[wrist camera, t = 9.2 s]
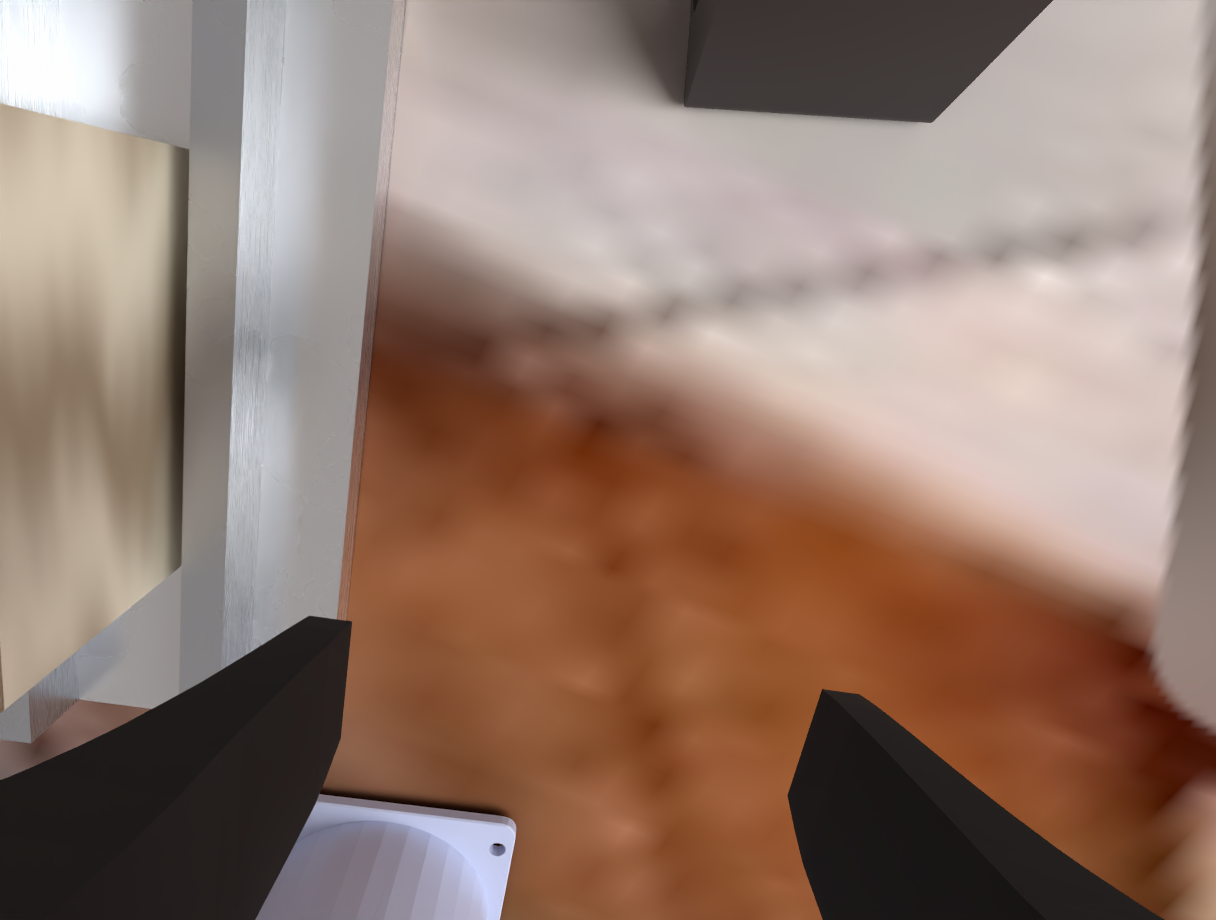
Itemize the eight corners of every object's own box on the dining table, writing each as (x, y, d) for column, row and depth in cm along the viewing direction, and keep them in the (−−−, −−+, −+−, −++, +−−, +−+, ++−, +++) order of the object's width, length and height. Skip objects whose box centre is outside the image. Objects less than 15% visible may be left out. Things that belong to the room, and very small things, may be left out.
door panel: (193, 555, 18) (-24, 732, 12) (97, 541, 18) (-179, 713, 12) (203, 152, 16) (-75, 84, 9) (90, 130, 15) (-282, 42, 9)
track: (337, 709, 21) (303, 776, 19) (-15, 662, 20) (-105, 726, 18) (409, -46, 16) (375, -107, 13) (-74, -162, 15) (-220, -252, 12)
